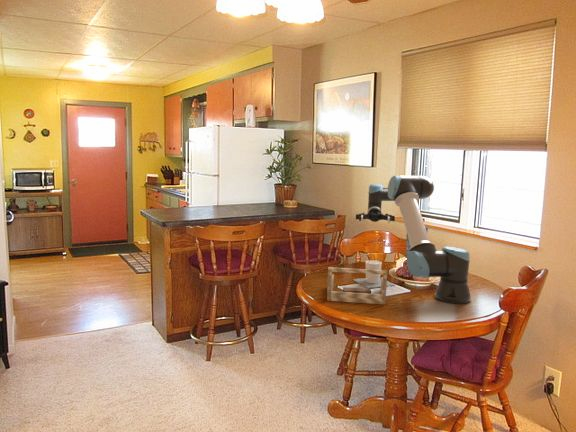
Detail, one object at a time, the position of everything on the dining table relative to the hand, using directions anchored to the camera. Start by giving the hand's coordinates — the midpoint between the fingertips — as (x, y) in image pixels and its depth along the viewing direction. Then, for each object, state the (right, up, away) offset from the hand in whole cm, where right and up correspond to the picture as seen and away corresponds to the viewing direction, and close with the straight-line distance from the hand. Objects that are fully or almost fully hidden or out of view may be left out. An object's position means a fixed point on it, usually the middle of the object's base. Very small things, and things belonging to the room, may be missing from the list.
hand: (375, 220), depth 243 cm
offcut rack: (-13, -34, -26) cm, 45 cm away
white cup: (-2, -31, -6) cm, 32 cm away
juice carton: (+25, -28, +18) cm, 42 cm away
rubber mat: (-2, -31, -6) cm, 32 cm away
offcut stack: (-15, -35, -31) cm, 49 cm away
